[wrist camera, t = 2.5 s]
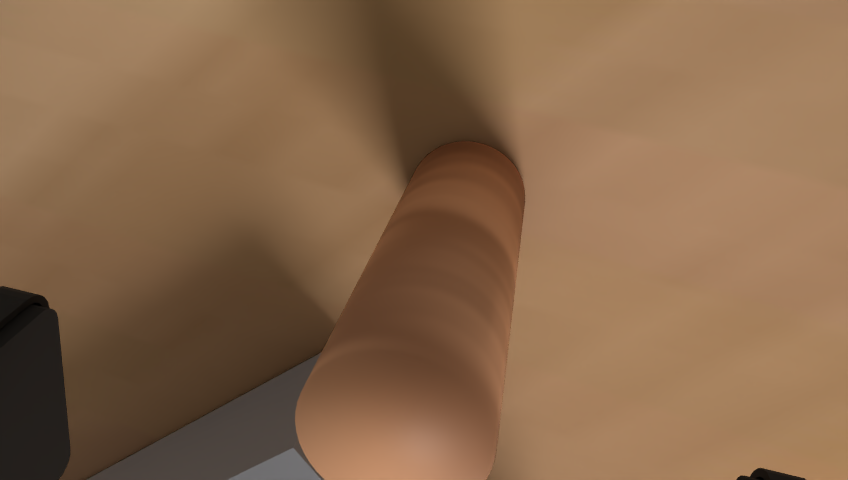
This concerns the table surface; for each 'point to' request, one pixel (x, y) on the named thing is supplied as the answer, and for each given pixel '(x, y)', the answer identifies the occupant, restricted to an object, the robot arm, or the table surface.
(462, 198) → the dowel
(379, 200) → the table surface
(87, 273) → the table surface
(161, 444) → the bore block
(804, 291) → the table surface
